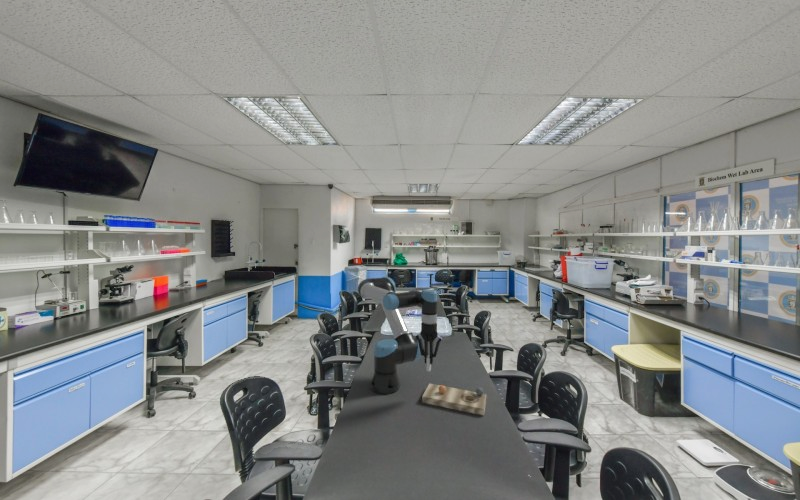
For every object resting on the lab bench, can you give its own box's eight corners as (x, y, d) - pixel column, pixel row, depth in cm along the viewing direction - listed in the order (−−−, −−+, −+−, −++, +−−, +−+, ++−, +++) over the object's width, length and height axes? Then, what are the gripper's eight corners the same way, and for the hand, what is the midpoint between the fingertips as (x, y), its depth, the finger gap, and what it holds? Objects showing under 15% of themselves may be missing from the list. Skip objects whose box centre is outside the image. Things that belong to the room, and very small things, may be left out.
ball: (437, 393, 142) (437, 386, 142) (439, 390, 145) (439, 383, 145) (445, 395, 141) (445, 388, 141) (446, 391, 144) (446, 384, 144)
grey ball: (475, 396, 140) (475, 388, 140) (476, 392, 143) (476, 385, 143) (483, 397, 139) (483, 390, 139) (483, 393, 142) (483, 386, 142)
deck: (422, 402, 140) (422, 396, 140) (429, 389, 152) (429, 383, 152) (483, 415, 130) (484, 409, 130) (486, 400, 142) (486, 394, 142)
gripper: (413, 322, 142) (413, 371, 143) (440, 325, 138) (440, 375, 139) (418, 318, 149) (418, 364, 150) (444, 321, 145) (443, 369, 146)
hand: (428, 370), depth 145 cm, fingers closed
